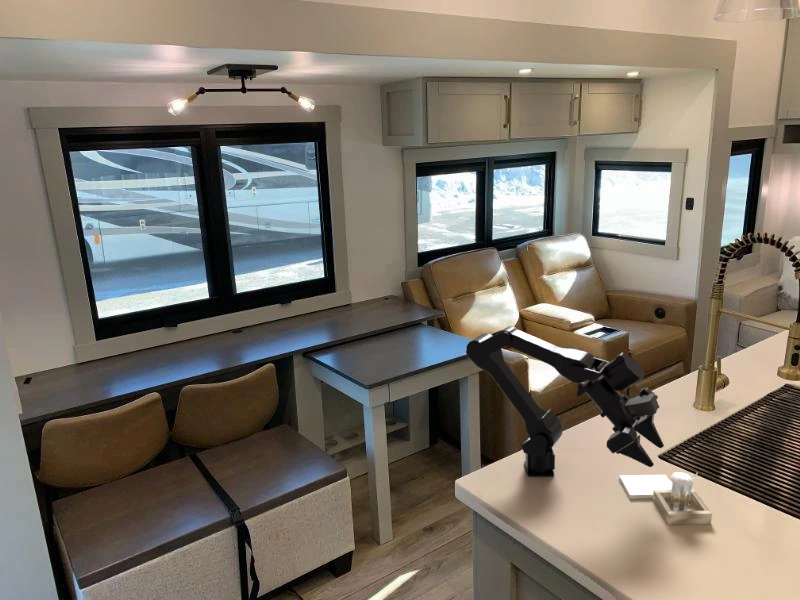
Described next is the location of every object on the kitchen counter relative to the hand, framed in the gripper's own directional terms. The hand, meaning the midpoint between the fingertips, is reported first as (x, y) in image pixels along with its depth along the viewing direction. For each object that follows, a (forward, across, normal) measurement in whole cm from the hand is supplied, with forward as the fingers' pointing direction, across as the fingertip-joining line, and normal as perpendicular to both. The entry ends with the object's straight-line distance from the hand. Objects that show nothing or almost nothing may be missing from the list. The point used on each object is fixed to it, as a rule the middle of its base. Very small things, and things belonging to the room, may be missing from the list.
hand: (657, 456), depth 135 cm
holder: (+12, 0, +4) cm, 13 cm away
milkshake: (+13, 0, +5) cm, 13 cm away
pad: (+7, +5, +10) cm, 13 cm away
